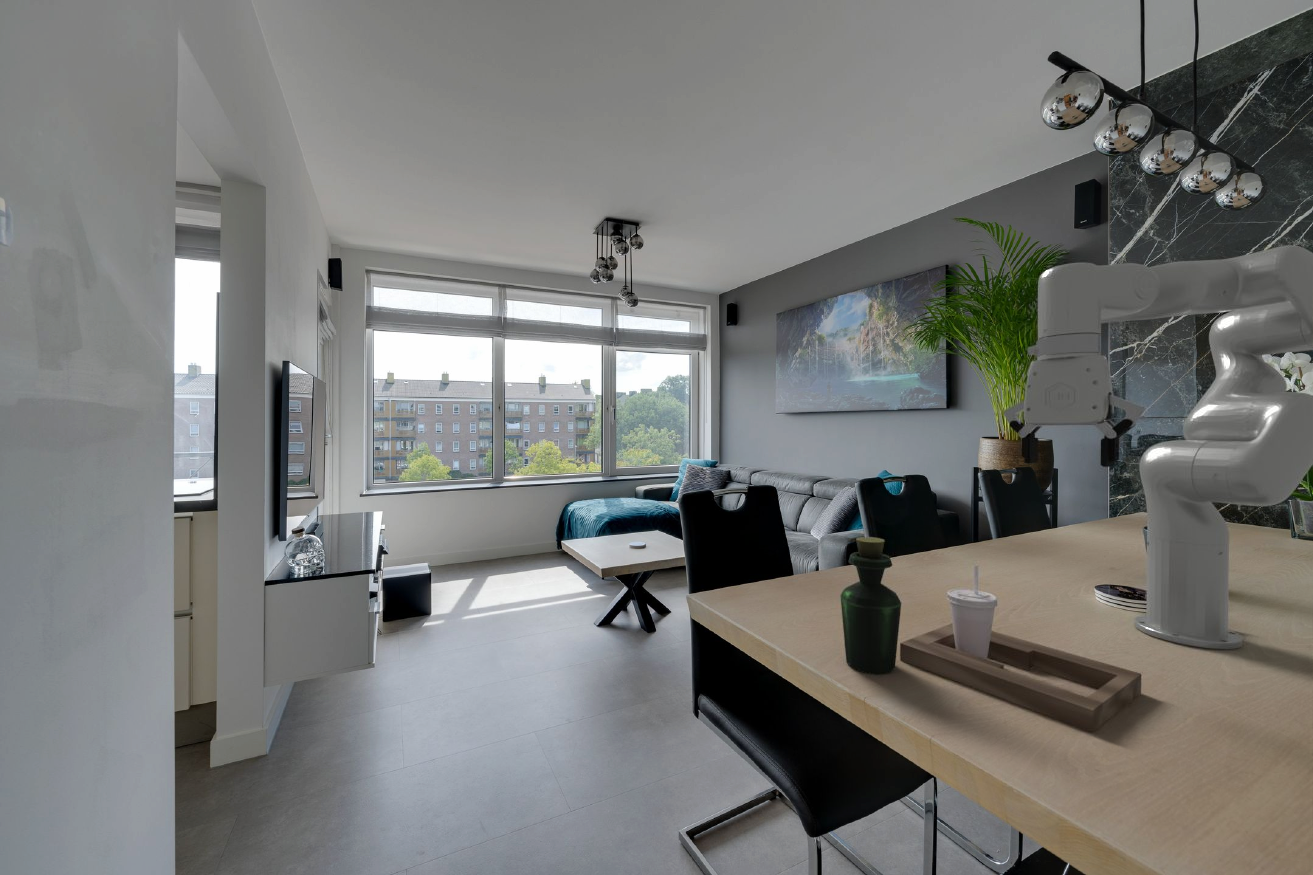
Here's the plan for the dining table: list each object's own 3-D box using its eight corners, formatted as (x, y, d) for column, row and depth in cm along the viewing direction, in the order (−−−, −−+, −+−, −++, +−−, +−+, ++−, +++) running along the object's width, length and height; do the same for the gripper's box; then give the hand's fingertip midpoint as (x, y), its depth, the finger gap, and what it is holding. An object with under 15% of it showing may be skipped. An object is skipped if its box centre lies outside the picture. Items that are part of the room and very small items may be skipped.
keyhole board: (957, 636, 88) (957, 621, 88) (1141, 693, 69) (1141, 673, 69) (900, 659, 79) (900, 642, 79) (1092, 732, 60) (1092, 710, 60)
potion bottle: (902, 659, 80) (902, 536, 80) (900, 682, 72) (900, 547, 72) (844, 649, 83) (844, 532, 83) (836, 670, 76) (836, 542, 76)
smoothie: (1005, 672, 75) (1005, 571, 75) (954, 668, 76) (955, 569, 76) (987, 653, 81) (987, 560, 81) (940, 650, 83) (941, 558, 83)
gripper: (993, 355, 86) (993, 462, 86) (1134, 339, 72) (1133, 469, 72) (1016, 358, 90) (1015, 461, 91) (1152, 344, 76) (1151, 466, 76)
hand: (1067, 464), depth 81 cm, fingers open, 9 cm apart
